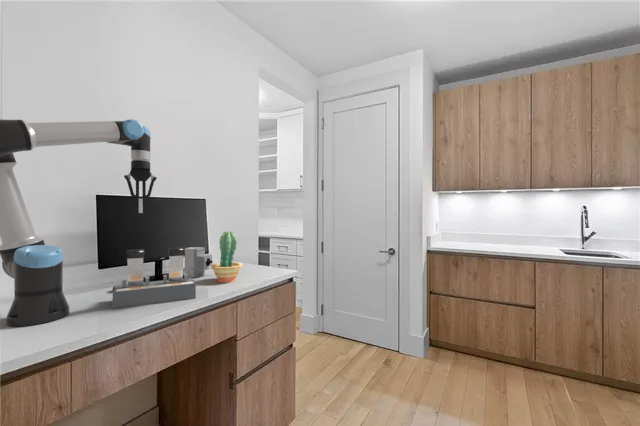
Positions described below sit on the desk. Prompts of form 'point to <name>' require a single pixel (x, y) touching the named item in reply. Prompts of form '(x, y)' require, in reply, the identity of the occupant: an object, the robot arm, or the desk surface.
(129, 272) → the left lever
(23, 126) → the robot arm
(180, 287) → the switch base
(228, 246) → the potted cactus
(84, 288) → the desk surface
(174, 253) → the right lever
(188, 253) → the circuit breaker
